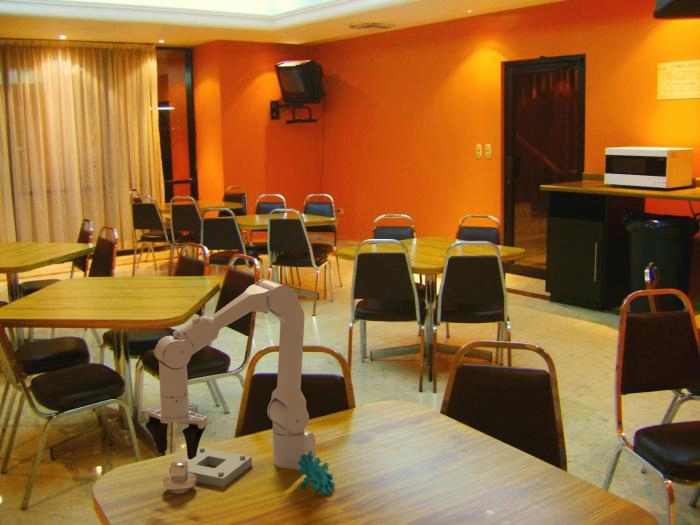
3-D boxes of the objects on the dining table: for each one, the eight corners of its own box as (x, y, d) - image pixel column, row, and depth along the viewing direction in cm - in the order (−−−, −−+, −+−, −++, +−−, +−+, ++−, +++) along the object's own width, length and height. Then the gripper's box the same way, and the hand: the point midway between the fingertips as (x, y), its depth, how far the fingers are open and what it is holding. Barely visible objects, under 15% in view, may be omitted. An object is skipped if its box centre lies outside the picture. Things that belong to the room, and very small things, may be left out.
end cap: (203, 488, 165) (202, 460, 164) (184, 502, 159) (182, 473, 158) (176, 482, 168) (175, 454, 167) (156, 496, 162) (155, 467, 160)
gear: (324, 497, 158) (295, 458, 161) (305, 513, 160) (276, 474, 162) (344, 482, 168) (317, 445, 171) (326, 497, 170) (300, 461, 173)
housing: (252, 468, 175) (251, 454, 175) (223, 491, 164) (223, 476, 164) (201, 458, 181) (200, 444, 180) (170, 480, 170) (169, 465, 169)
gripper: (133, 395, 158) (137, 456, 161) (192, 404, 153) (194, 467, 155) (155, 384, 165) (158, 443, 167) (211, 393, 159) (214, 454, 161)
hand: (177, 454), depth 161 cm, fingers open, 7 cm apart
